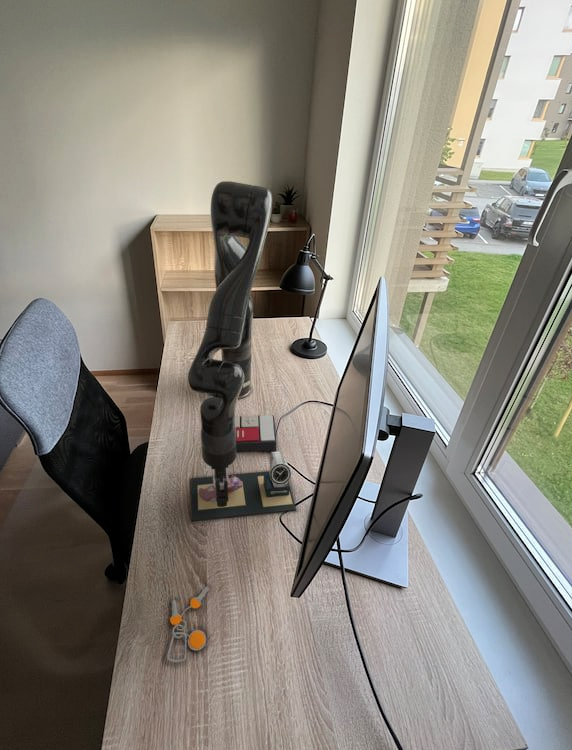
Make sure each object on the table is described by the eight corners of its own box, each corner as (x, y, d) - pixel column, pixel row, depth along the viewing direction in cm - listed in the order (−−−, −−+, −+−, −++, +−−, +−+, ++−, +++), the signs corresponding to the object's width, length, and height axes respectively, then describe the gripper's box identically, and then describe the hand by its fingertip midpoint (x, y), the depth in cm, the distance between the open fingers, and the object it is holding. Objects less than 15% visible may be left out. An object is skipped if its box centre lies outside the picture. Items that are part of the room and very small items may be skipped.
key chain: (203, 664, 67) (203, 662, 67) (160, 662, 68) (160, 660, 67) (211, 587, 78) (211, 585, 78) (174, 586, 78) (173, 584, 78)
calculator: (221, 414, 115) (273, 412, 114) (222, 425, 117) (273, 423, 117) (219, 441, 106) (276, 440, 105) (220, 453, 108) (276, 451, 108)
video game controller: (203, 509, 94) (207, 502, 88) (196, 490, 96) (199, 482, 90) (241, 493, 98) (247, 486, 92) (233, 476, 99) (239, 467, 94)
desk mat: (191, 479, 100) (191, 477, 100) (285, 470, 103) (285, 469, 102) (191, 521, 90) (191, 519, 90) (296, 510, 93) (296, 508, 92)
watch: (267, 504, 93) (269, 472, 87) (262, 477, 100) (263, 445, 94) (291, 502, 94) (294, 470, 88) (284, 475, 101) (287, 444, 94)
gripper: (239, 464, 80) (239, 514, 89) (233, 417, 92) (233, 465, 101) (202, 467, 79) (206, 517, 88) (200, 419, 91) (203, 468, 100)
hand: (220, 490), depth 95 cm, fingers open, 8 cm apart
